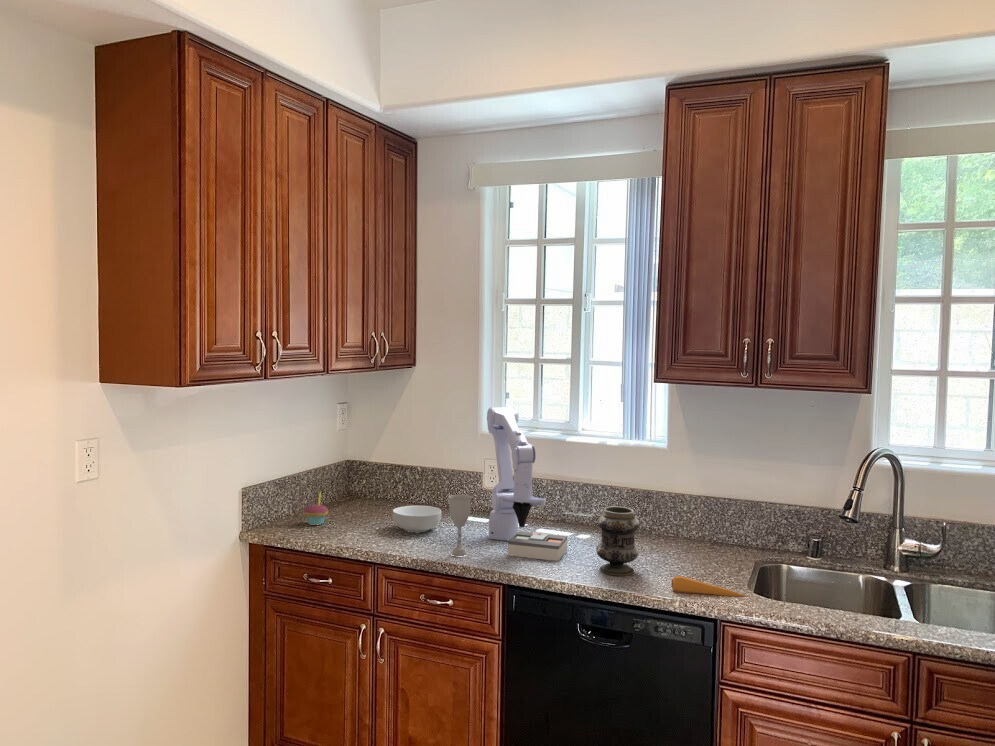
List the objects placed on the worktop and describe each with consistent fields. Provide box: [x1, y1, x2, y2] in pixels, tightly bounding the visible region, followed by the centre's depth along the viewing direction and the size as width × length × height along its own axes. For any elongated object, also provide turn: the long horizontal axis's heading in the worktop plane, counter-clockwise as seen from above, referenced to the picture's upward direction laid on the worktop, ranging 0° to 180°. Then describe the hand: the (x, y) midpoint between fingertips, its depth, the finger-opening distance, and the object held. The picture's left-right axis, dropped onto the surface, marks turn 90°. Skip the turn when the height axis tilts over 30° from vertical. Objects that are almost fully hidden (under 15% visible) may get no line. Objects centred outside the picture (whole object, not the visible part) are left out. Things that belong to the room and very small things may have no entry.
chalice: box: [448, 494, 472, 556], centre depth 225 cm, size 7×7×18 cm
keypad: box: [507, 530, 568, 562], centre depth 229 cm, size 16×12×5 cm
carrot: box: [671, 575, 749, 598], centre depth 195 cm, size 20×4×4 cm, turn 78°
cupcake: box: [303, 489, 329, 525], centre depth 259 cm, size 9×8×12 cm
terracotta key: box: [547, 539, 561, 543], centre depth 227 cm, size 4×4×2 cm
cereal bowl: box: [392, 505, 442, 533], centre depth 254 cm, size 17×17×7 cm
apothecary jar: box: [595, 505, 640, 577], centre depth 212 cm, size 12×12×18 cm
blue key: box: [530, 535, 546, 541], centre depth 229 cm, size 4×4×2 cm
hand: (522, 526), depth 230 cm, fingers closed
